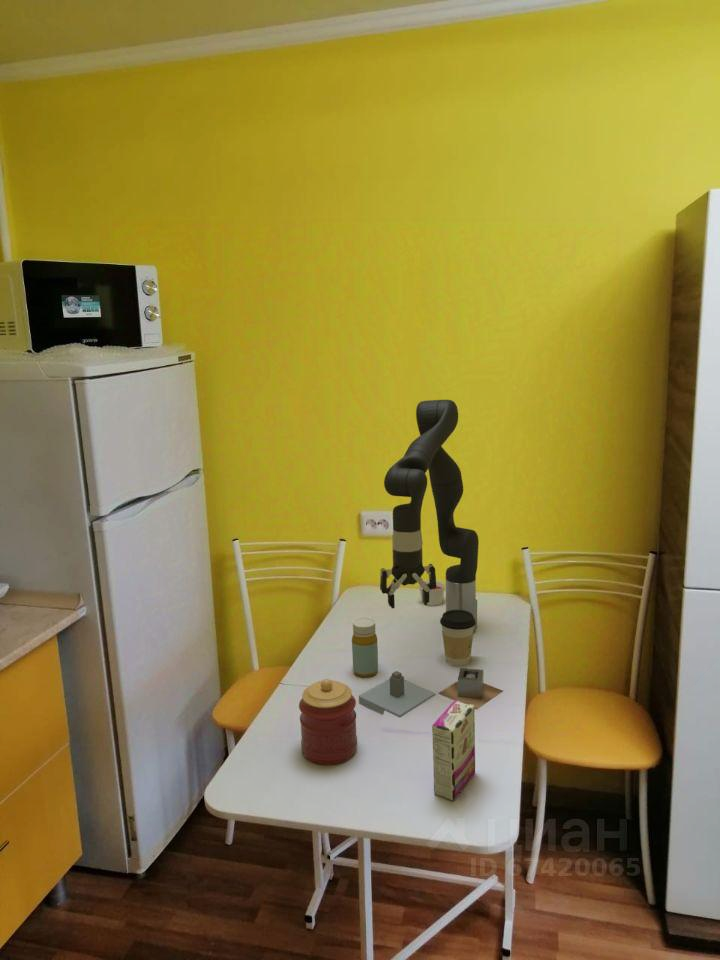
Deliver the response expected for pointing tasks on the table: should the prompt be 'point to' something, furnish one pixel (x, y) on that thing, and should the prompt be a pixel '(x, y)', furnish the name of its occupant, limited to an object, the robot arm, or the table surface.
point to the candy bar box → (453, 749)
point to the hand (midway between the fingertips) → (408, 605)
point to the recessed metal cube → (470, 683)
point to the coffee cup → (457, 636)
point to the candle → (434, 593)
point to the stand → (487, 695)
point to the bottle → (364, 648)
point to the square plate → (395, 696)
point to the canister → (328, 722)
